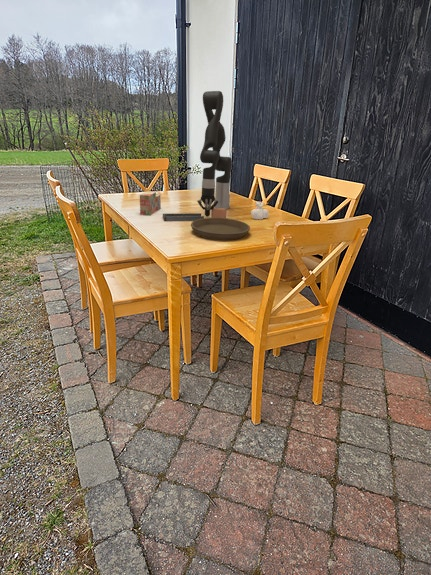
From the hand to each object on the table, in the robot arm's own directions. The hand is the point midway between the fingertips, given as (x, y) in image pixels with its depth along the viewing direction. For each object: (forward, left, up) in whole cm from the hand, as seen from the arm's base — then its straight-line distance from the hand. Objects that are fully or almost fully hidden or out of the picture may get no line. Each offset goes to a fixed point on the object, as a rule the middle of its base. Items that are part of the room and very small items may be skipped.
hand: (207, 216), depth 218 cm
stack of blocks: (+31, -21, -2) cm, 38 cm away
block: (-7, 0, -2) cm, 7 cm away
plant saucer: (0, +30, -2) cm, 30 cm away
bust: (-33, 0, -2) cm, 33 cm away
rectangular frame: (+14, 0, -2) cm, 14 cm away
